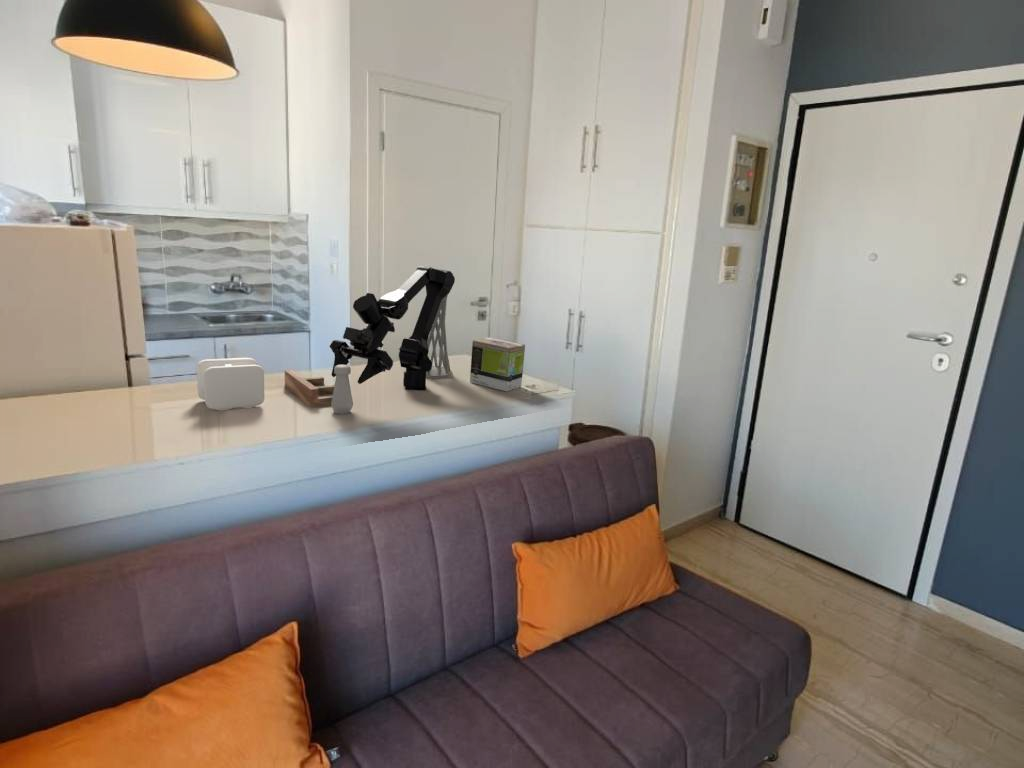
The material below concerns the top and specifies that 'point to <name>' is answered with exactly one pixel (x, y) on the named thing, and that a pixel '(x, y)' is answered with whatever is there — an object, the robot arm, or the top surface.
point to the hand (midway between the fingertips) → (345, 379)
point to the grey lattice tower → (443, 356)
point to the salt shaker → (342, 391)
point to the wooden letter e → (308, 389)
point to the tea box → (497, 363)
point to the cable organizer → (230, 383)
